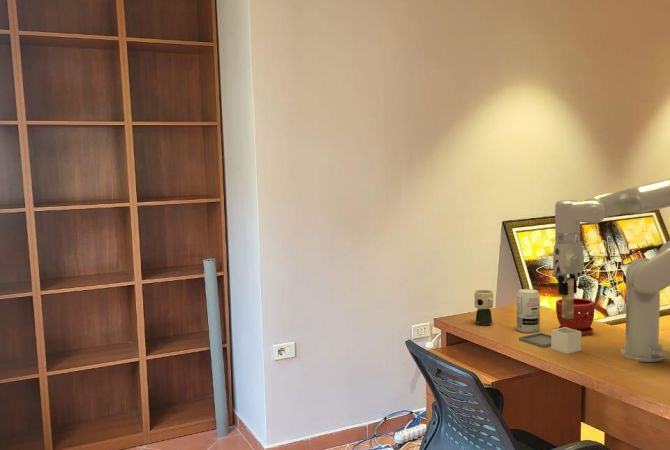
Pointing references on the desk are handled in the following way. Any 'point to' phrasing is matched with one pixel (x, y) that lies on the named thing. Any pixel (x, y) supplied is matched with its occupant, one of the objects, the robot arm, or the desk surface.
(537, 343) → the tray
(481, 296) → the character mug
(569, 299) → the dowel
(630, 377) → the desk surface
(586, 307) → the plant pot
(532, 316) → the supplement can
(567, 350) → the white open square box
